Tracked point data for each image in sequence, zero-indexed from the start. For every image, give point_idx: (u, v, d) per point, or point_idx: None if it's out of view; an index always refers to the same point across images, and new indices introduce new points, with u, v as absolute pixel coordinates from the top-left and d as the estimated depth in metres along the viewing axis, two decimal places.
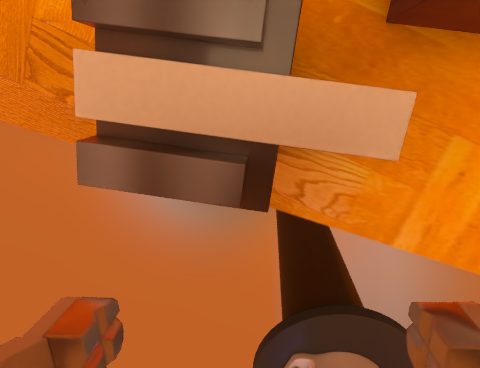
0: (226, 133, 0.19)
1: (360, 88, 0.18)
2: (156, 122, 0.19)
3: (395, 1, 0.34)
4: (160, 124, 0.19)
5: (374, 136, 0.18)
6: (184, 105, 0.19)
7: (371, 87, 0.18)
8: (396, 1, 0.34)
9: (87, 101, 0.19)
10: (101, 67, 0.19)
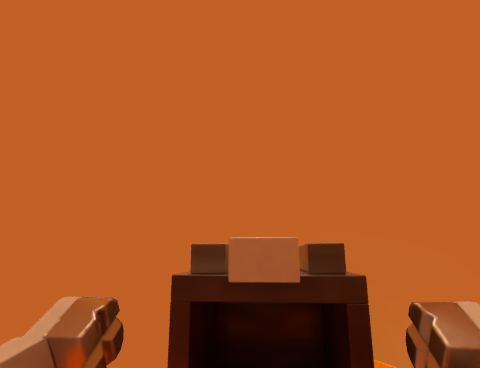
0: None
1: None
2: None
3: None
4: None
5: None
6: None
7: None
8: None
9: None
10: None
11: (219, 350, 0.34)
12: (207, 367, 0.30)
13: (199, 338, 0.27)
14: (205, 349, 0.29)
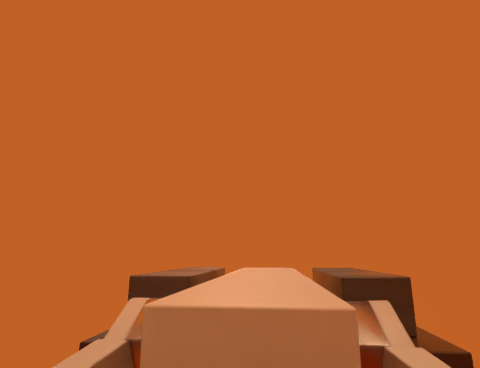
0: (230, 274, 0.16)
1: (320, 289, 0.09)
2: (241, 270, 0.20)
3: None
4: (239, 270, 0.20)
5: (222, 294, 0.08)
6: None
7: None
8: None
9: None
10: (282, 268, 0.23)
11: None
12: None
13: None
14: None
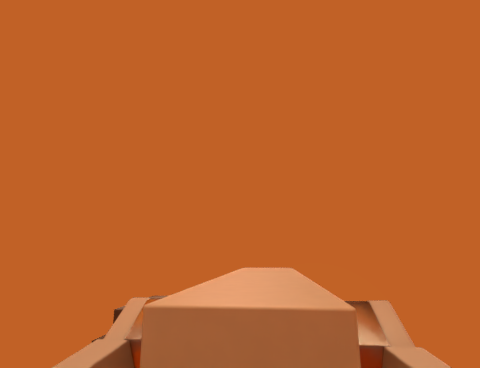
0: (229, 274, 0.16)
1: (320, 289, 0.09)
2: (240, 270, 0.20)
3: None
4: None
5: (222, 294, 0.08)
6: None
7: (329, 292, 0.08)
8: None
9: None
10: None
11: None
12: None
13: None
14: None
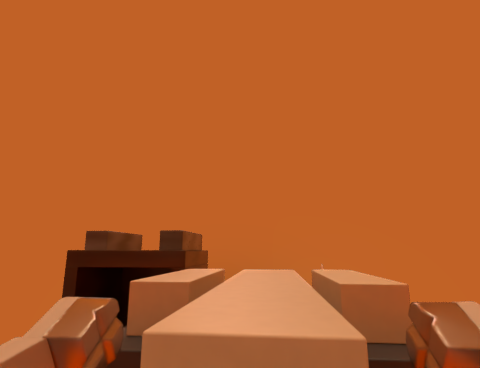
0: (231, 280, 0.16)
1: (325, 306, 0.08)
2: (241, 274, 0.20)
3: None
4: (239, 274, 0.20)
5: (224, 314, 0.07)
6: (259, 276, 0.18)
7: (335, 309, 0.08)
8: None
9: None
10: None
11: (122, 307, 0.48)
12: None
13: (91, 293, 0.41)
14: None
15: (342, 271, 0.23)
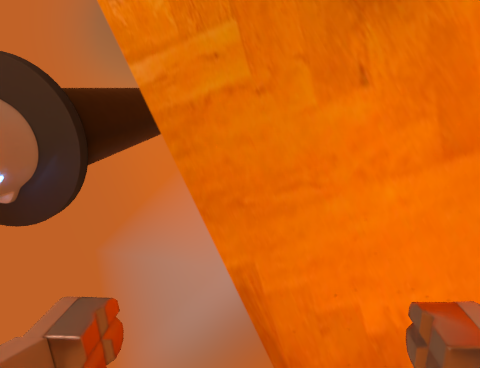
0: None
1: None
2: None
3: None
4: None
5: None
6: None
7: None
8: None
9: None
10: None
11: None
12: None
13: None
14: None
15: None
